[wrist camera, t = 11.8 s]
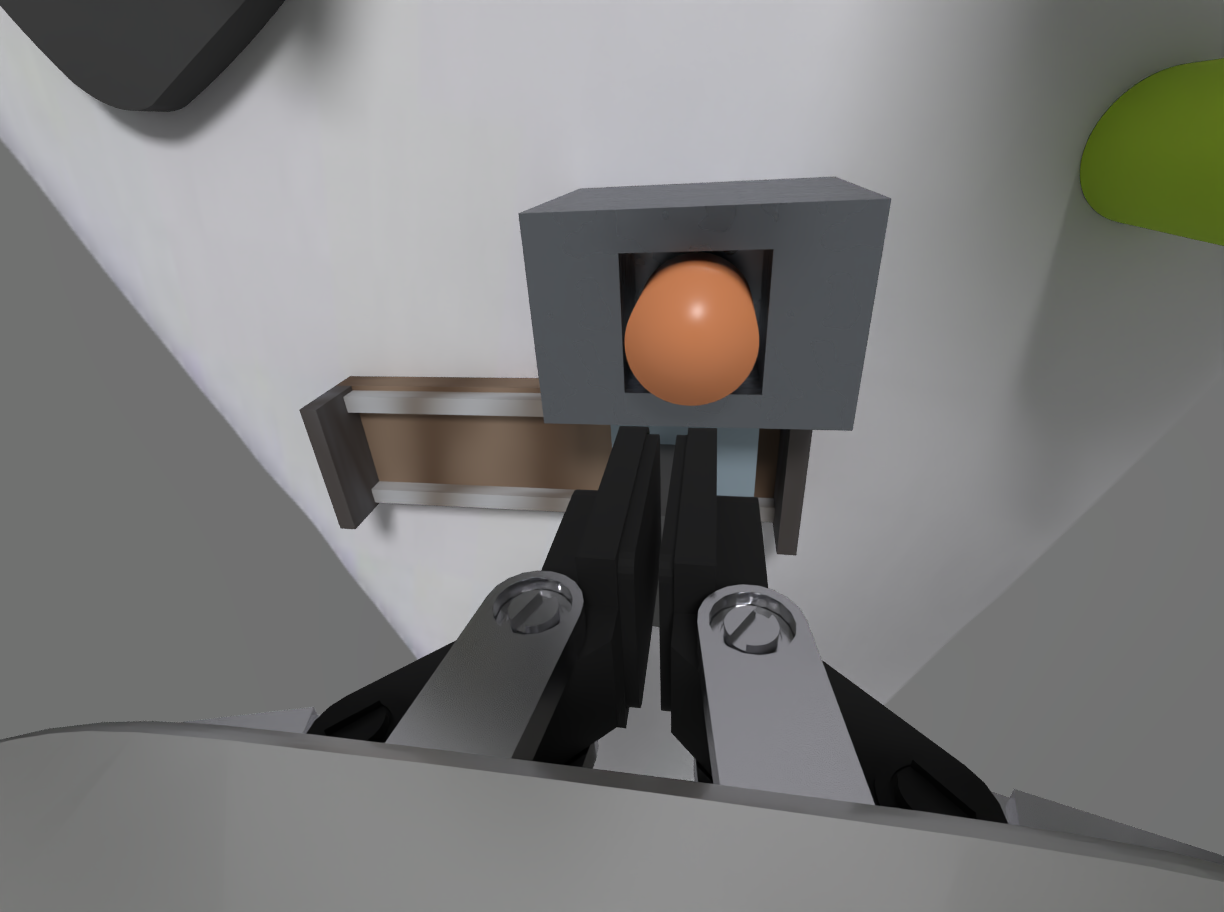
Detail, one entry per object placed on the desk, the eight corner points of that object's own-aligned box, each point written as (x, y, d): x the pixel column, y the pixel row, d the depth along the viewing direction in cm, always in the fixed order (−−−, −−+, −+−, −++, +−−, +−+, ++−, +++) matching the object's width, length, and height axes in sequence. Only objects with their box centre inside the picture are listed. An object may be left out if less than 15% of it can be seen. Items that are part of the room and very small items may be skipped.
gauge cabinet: (835, 176, 26) (891, 198, 18) (813, 354, 30) (850, 442, 22) (579, 188, 28) (518, 213, 20) (591, 353, 32) (545, 434, 24)
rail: (800, 380, 31) (813, 420, 27) (786, 503, 35) (796, 555, 31) (350, 376, 36) (299, 409, 31) (381, 485, 40) (340, 528, 35)
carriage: (756, 392, 29) (769, 487, 21) (745, 536, 33) (753, 659, 25) (619, 390, 30) (584, 480, 22) (626, 529, 34) (599, 645, 27)
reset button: (756, 250, 21) (764, 274, 17) (749, 364, 23) (754, 406, 20) (638, 253, 22) (621, 277, 18) (641, 363, 24) (627, 404, 20)
